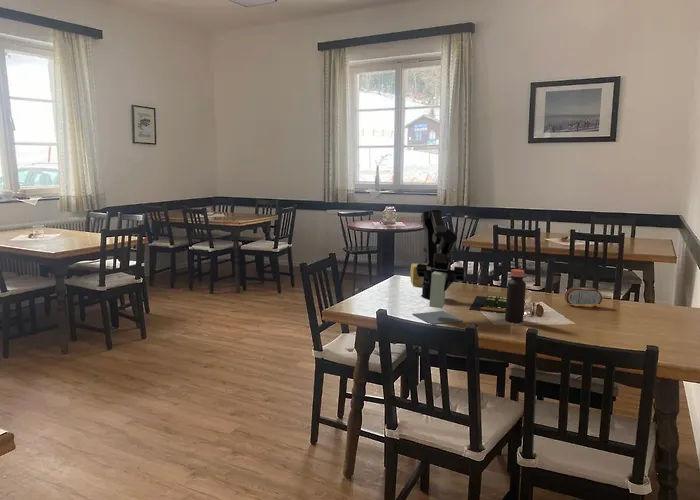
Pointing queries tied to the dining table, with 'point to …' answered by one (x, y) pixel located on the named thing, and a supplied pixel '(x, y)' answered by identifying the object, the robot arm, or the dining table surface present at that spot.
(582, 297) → the tin
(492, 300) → the sushi
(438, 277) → the block
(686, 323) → the dining table surface
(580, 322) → the dining table surface
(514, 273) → the bottle
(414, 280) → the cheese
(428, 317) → the mat
